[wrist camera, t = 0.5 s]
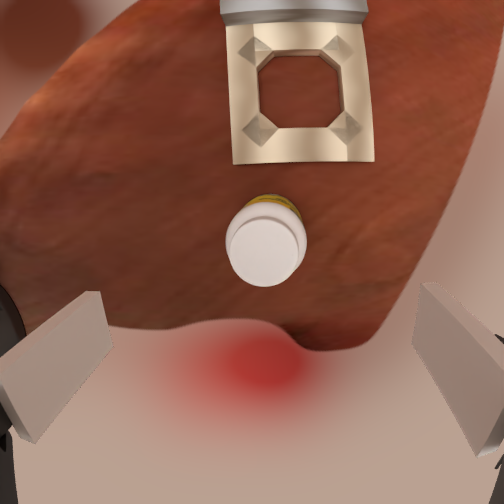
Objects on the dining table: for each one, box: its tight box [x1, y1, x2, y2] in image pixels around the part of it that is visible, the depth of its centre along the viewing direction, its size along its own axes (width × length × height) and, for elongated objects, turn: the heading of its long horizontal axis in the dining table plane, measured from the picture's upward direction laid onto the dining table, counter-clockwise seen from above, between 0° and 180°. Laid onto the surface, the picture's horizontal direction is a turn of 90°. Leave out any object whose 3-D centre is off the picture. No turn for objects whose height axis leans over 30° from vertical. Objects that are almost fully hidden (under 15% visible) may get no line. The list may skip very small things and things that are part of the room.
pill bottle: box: [226, 194, 307, 287], centre depth 27 cm, size 6×6×11 cm
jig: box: [220, 0, 374, 165], centre depth 25 cm, size 13×18×5 cm
